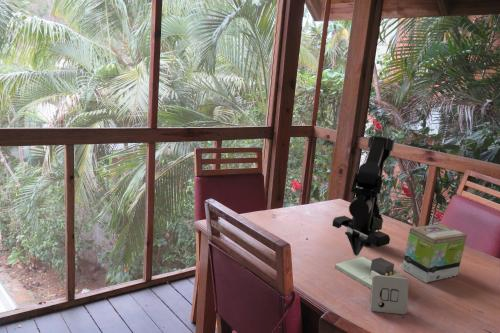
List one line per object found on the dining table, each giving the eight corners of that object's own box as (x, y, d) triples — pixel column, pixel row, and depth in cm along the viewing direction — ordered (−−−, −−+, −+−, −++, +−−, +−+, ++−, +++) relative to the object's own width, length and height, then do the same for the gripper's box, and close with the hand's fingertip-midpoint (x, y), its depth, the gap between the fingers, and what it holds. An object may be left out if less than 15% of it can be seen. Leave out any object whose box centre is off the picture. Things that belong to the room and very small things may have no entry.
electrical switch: (370, 311, 105) (374, 277, 104) (365, 302, 110) (370, 270, 109) (406, 316, 104) (411, 281, 103) (400, 306, 109) (405, 274, 108)
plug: (378, 272, 124) (380, 257, 123) (391, 279, 120) (394, 264, 119) (369, 274, 122) (372, 259, 121) (383, 282, 118) (385, 266, 117)
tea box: (426, 284, 122) (435, 239, 118) (400, 269, 130) (408, 226, 127) (458, 276, 129) (468, 233, 125) (432, 262, 137) (440, 222, 134)
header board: (334, 267, 128) (336, 254, 127) (361, 259, 135) (363, 247, 134) (378, 293, 114) (380, 279, 113) (405, 283, 122) (408, 269, 120)
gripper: (404, 215, 123) (396, 262, 126) (357, 197, 137) (350, 239, 141) (381, 220, 116) (373, 269, 120) (334, 201, 131) (328, 245, 135)
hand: (356, 255), depth 129 cm, fingers closed
